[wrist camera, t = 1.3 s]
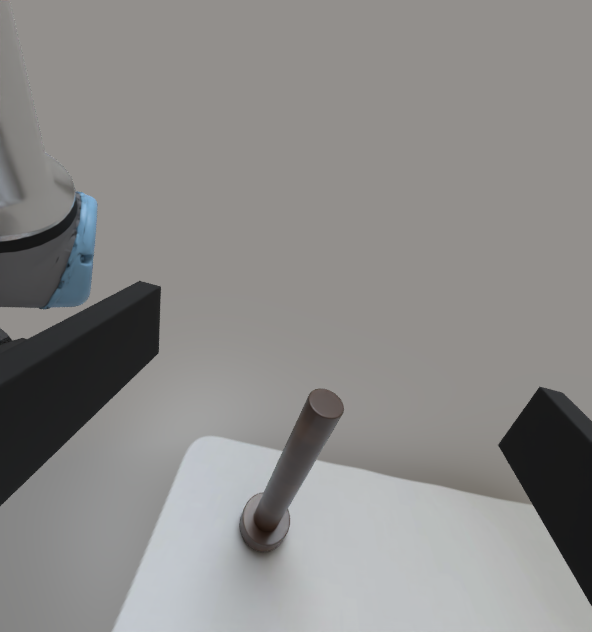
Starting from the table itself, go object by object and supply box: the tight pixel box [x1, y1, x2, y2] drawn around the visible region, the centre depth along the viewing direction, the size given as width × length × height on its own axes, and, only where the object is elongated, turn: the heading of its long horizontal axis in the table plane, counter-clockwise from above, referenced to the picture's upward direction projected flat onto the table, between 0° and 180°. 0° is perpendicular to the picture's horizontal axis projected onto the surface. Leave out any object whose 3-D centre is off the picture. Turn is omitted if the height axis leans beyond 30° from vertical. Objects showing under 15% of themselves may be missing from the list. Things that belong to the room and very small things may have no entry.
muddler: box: [240, 389, 344, 552], centre depth 24 cm, size 4×4×18 cm
